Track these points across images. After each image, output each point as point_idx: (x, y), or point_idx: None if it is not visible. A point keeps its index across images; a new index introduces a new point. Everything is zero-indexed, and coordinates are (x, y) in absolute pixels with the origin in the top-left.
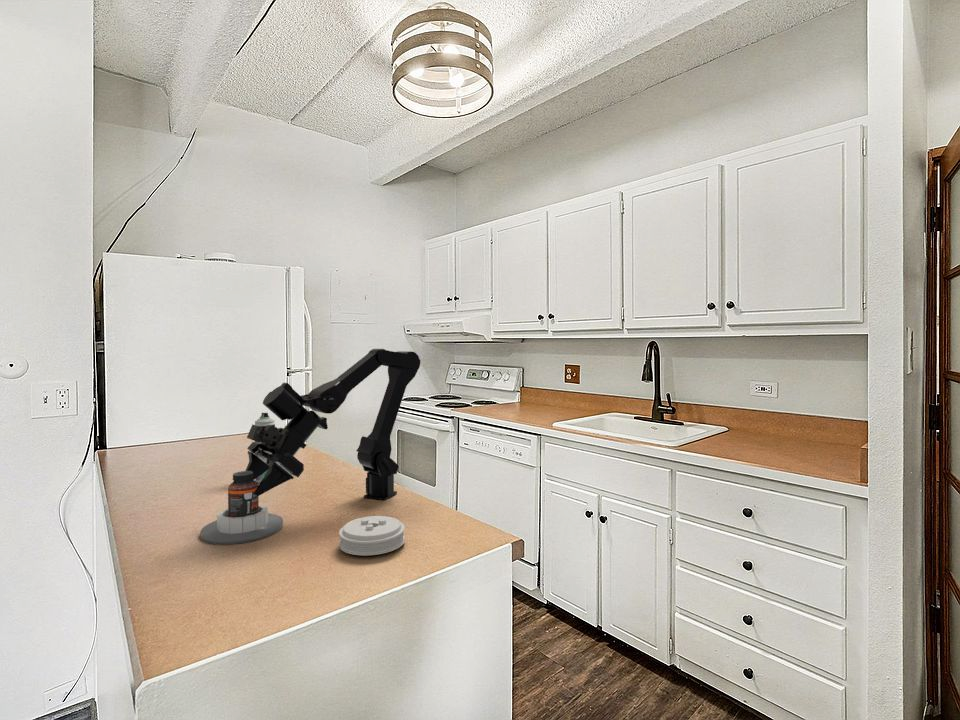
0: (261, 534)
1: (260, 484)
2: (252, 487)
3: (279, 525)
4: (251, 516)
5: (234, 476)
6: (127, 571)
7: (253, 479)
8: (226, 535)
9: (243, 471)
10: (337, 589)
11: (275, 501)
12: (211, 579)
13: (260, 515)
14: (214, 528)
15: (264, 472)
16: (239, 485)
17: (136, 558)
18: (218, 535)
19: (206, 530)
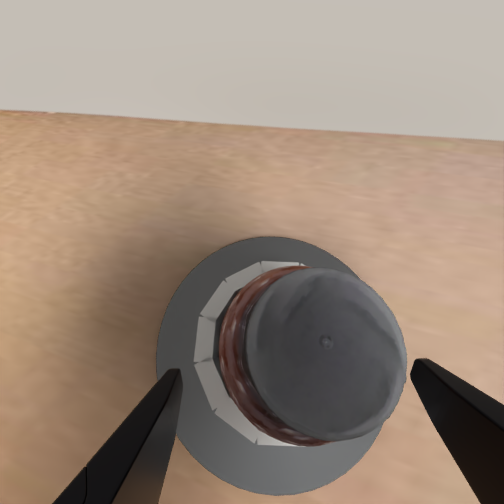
0: (156, 362)
1: (135, 418)
2: (224, 378)
3: (185, 446)
4: (198, 348)
5: (293, 271)
6: (197, 124)
7: (463, 469)
8: (220, 280)
9: (383, 364)
10: None
11: None
12: (35, 207)
13: (204, 386)
14: None
15: None
16: (248, 303)
17: (249, 140)
18: (235, 264)
19: (296, 251)
